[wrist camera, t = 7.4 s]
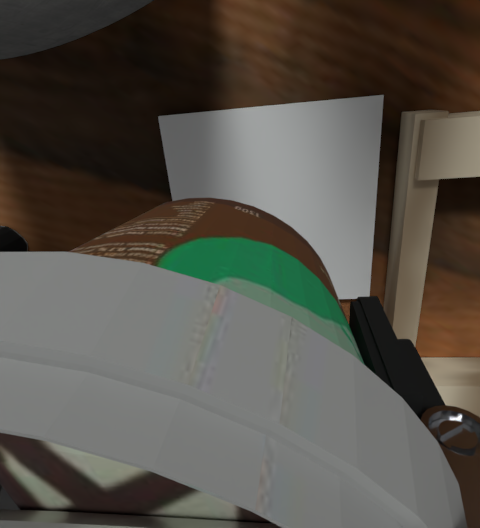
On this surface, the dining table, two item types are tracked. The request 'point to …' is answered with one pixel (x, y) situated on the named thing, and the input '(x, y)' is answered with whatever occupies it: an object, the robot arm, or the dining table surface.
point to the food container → (203, 383)
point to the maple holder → (428, 232)
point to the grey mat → (290, 172)
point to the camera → (12, 241)
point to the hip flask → (55, 22)
